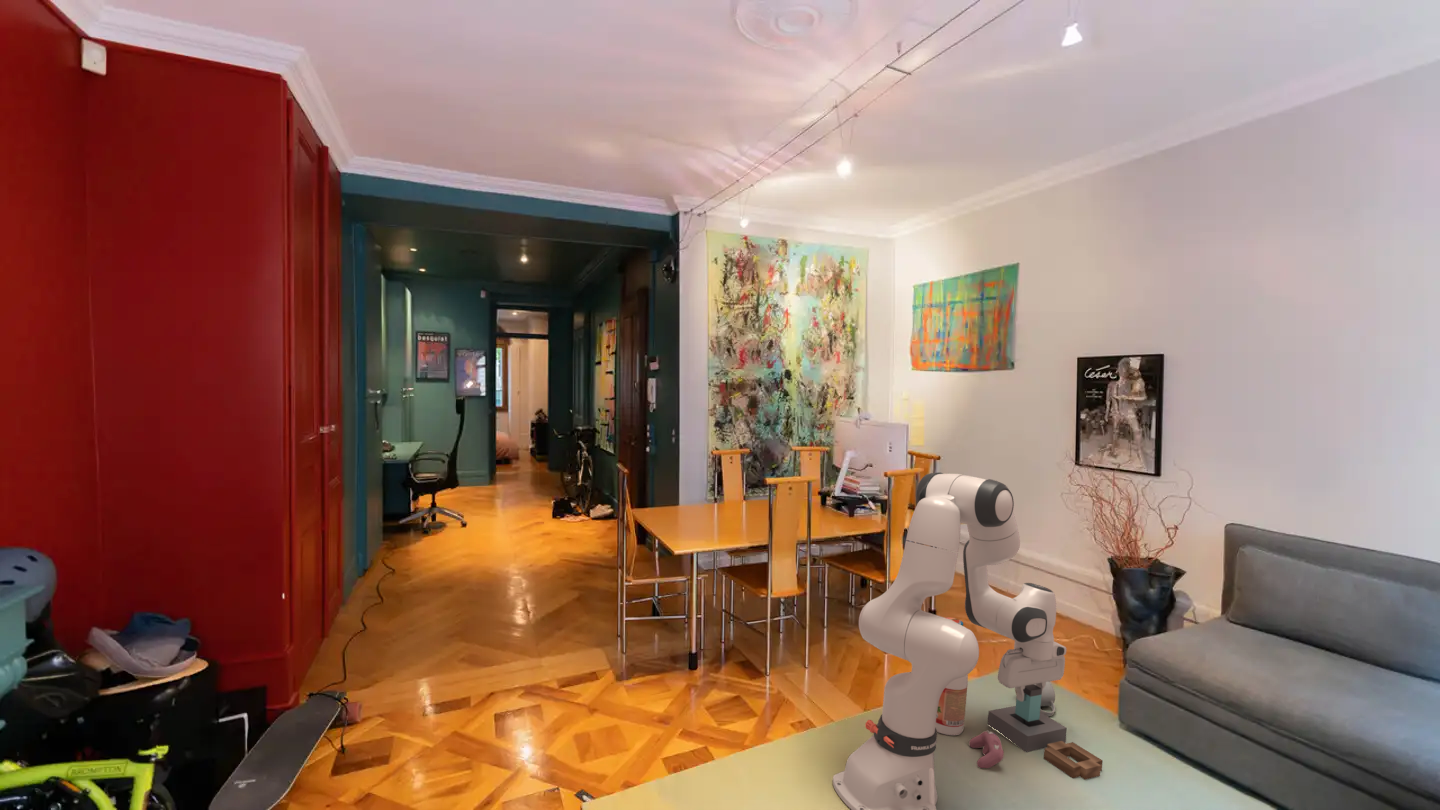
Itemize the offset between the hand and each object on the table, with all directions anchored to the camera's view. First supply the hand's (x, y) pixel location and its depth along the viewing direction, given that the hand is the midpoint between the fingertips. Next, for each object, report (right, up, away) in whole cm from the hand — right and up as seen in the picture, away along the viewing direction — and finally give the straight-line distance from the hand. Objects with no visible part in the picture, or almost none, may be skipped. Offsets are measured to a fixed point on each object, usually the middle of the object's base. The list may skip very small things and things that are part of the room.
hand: (1028, 698), depth 154 cm
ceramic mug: (+10, -10, +15) cm, 21 cm away
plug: (0, -5, 0) cm, 5 cm away
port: (-1, -9, 0) cm, 9 cm away
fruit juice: (-22, -8, +1) cm, 23 cm away
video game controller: (-17, -9, -12) cm, 22 cm away
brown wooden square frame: (+4, -10, -12) cm, 16 cm away
